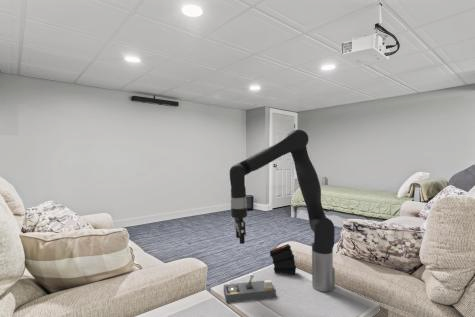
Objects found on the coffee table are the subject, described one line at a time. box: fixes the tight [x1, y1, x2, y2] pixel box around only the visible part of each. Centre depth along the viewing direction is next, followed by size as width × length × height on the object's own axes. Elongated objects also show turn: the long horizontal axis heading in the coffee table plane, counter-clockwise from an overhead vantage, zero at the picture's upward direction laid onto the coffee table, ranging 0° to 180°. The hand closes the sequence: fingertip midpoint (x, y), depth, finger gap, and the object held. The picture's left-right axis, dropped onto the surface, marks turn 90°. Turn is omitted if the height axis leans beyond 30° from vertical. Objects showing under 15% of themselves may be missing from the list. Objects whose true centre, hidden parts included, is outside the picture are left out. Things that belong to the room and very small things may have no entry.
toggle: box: [248, 273, 255, 284], centre depth 118 cm, size 2×2×4 cm
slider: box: [263, 279, 273, 289], centre depth 117 cm, size 3×2×3 cm, turn 100°
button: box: [228, 286, 238, 293], centre depth 117 cm, size 4×4×3 cm
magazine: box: [269, 243, 297, 276], centre depth 138 cm, size 4×13×15 cm, turn 72°
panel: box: [223, 280, 277, 303], centre depth 118 cm, size 22×9×4 cm, turn 100°
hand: (240, 240), depth 124 cm, fingers open, 8 cm apart
